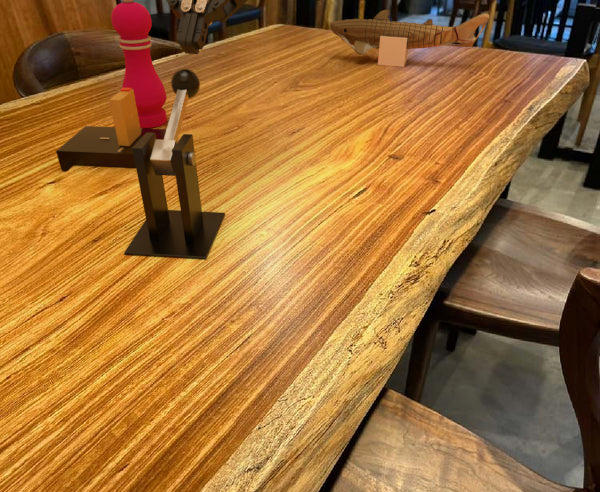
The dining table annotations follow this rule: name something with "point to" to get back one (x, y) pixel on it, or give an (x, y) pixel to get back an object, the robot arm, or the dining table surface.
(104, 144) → the plate
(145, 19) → the pepper mill
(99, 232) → the dining table surface
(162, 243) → the bracket
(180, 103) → the latch lever
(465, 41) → the wood carving
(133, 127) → the block
